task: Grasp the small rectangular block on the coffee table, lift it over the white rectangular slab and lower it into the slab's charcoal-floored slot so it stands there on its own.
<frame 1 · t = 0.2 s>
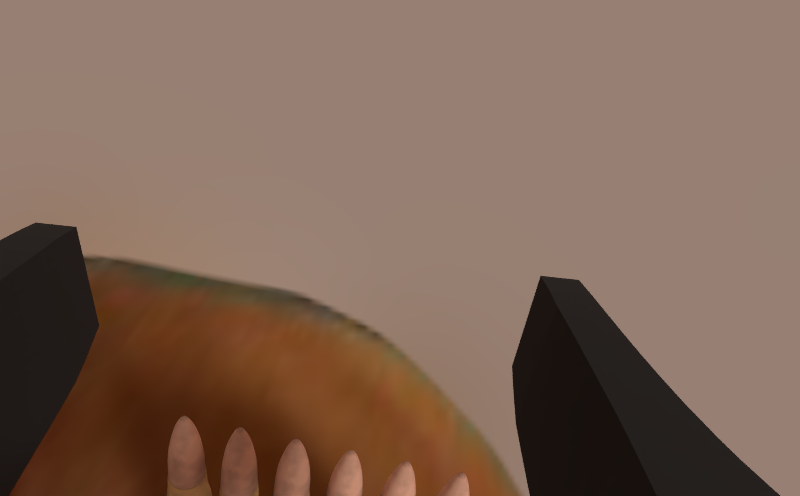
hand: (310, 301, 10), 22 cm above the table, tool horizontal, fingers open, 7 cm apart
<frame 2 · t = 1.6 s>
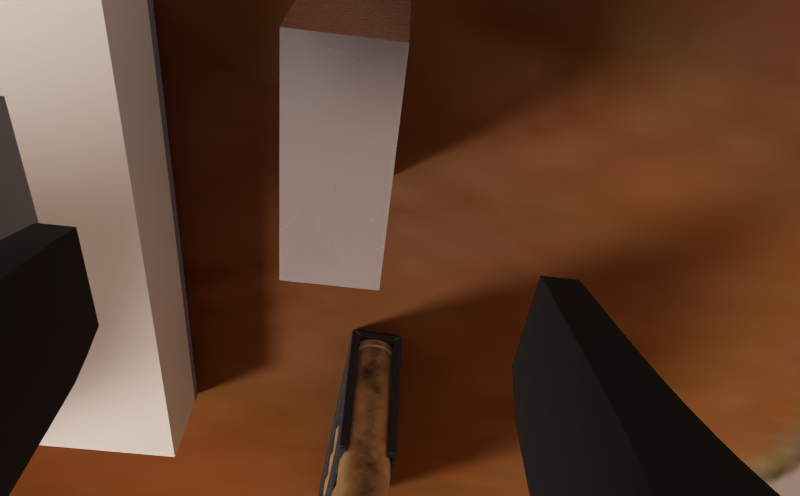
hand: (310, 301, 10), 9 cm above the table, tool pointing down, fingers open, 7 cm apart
white rectangular slab: (28, 167, 19), on the table
rectangular block: (356, 80, 18), on the table
ammunition clip: (356, 418, 27), on the table
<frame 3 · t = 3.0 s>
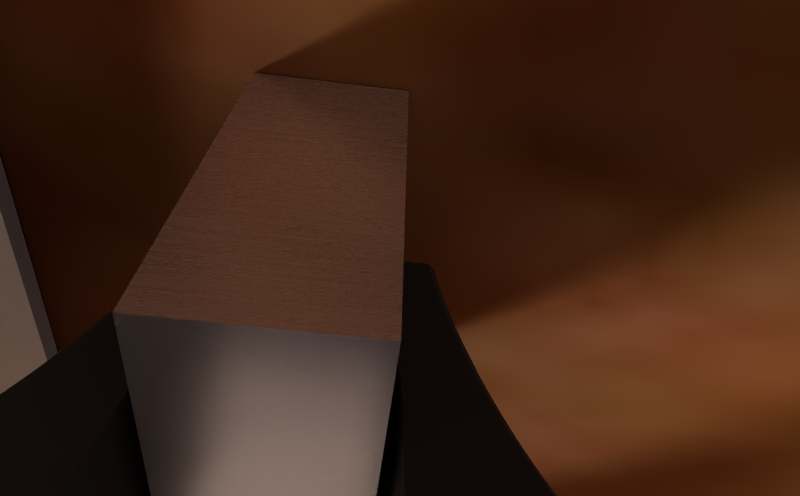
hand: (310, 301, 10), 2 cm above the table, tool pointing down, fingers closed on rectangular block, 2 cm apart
rectangular block: (323, 239, 11), on the table, touching gripper
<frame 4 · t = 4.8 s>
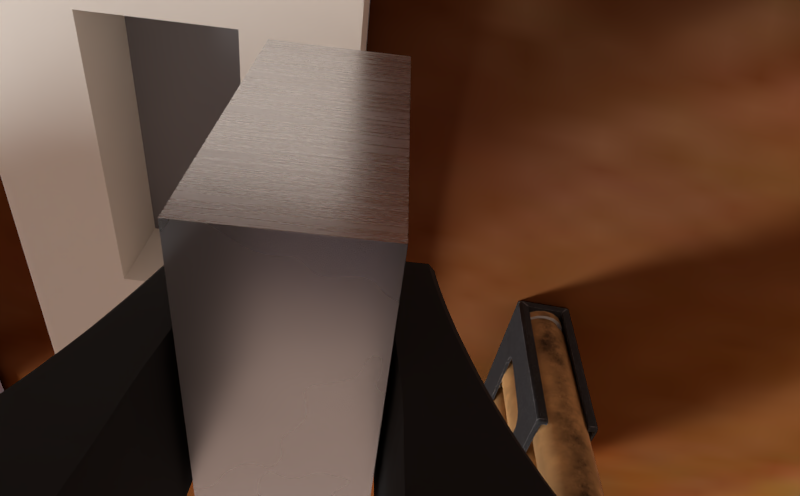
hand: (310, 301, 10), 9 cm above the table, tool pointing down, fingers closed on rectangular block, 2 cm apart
white rectangular slab: (206, 121, 18), on the table
rectangular block: (331, 200, 12), point 6 cm above the table, touching gripper
ammunition clip: (500, 396, 25), on the table
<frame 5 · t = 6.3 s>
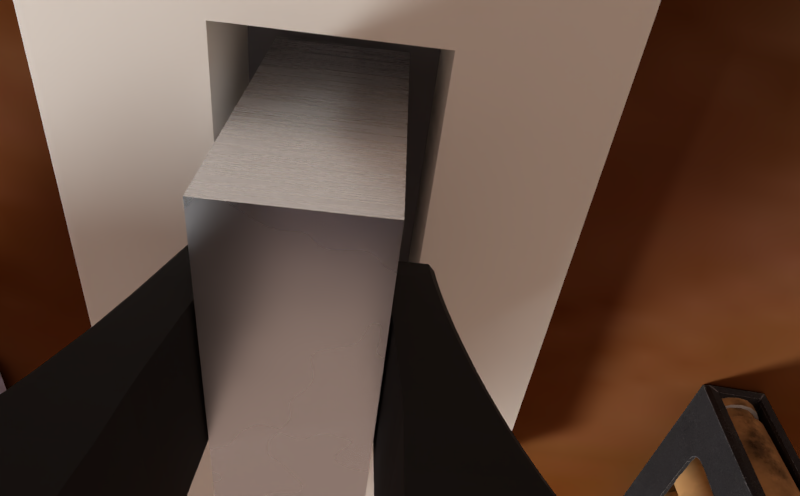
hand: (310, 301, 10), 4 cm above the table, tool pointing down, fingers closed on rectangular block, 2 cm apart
white rectangular slab: (338, 167, 14), on the table
rectangular block: (334, 187, 13), point 1 cm above the table, touching gripper
ammunition clip: (651, 488, 21), on the table
when the fingers open (4 cm above the table, at t = 6.8 s): rectangular block stays where it is, resting on white rectangular slab.
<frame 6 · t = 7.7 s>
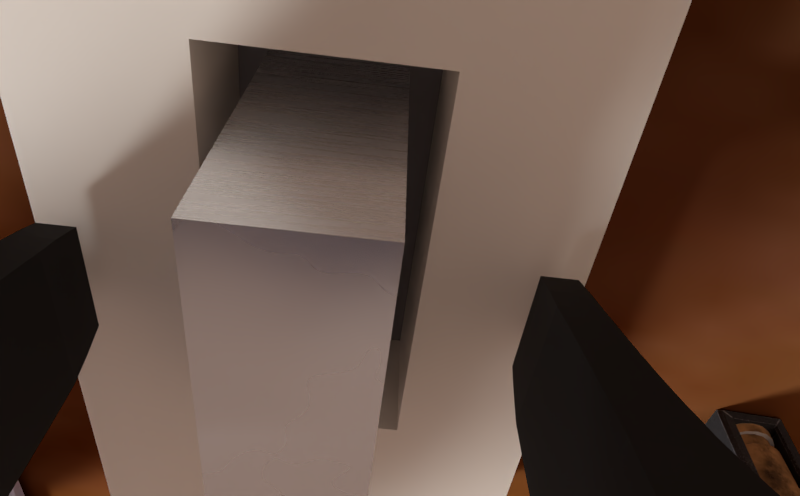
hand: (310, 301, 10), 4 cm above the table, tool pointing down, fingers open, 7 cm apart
white rectangular slab: (334, 186, 13), on the table
rectangular block: (333, 198, 13), resting on white rectangular slab
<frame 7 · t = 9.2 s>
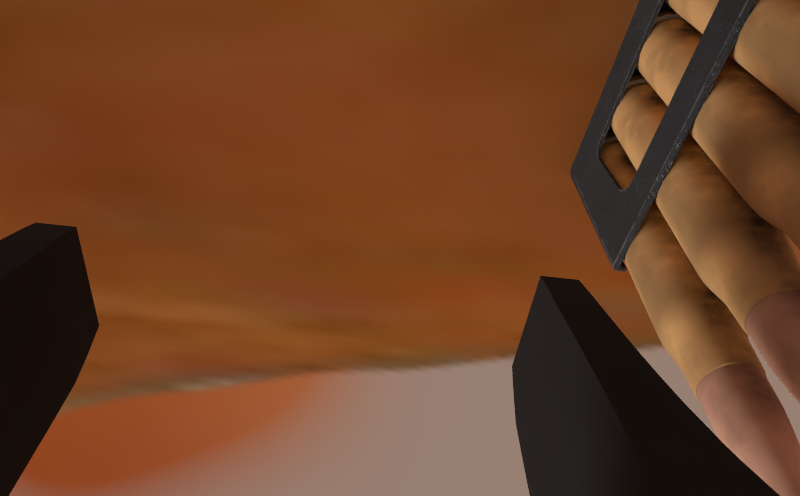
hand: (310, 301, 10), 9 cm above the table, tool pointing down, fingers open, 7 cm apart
ammunition clip: (671, 3, 16), on the table
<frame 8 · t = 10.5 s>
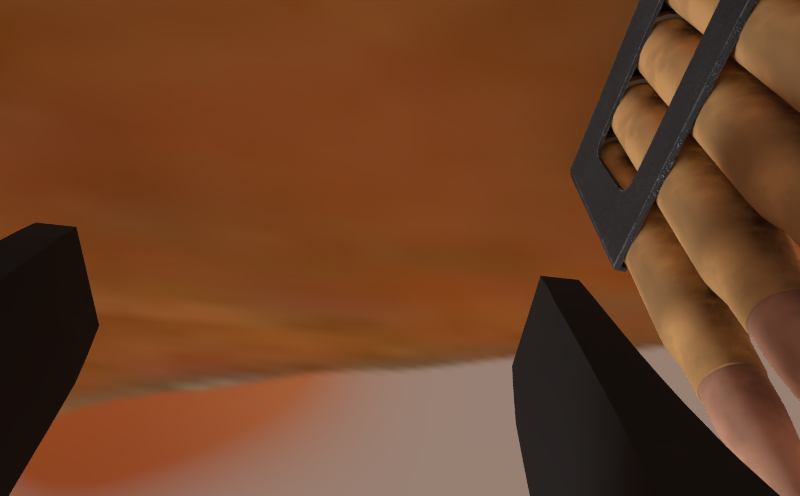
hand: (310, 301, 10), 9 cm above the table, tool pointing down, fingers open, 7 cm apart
ammunition clip: (671, 3, 16), on the table
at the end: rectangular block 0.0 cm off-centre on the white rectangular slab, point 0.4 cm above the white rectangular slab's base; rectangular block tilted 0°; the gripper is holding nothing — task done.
